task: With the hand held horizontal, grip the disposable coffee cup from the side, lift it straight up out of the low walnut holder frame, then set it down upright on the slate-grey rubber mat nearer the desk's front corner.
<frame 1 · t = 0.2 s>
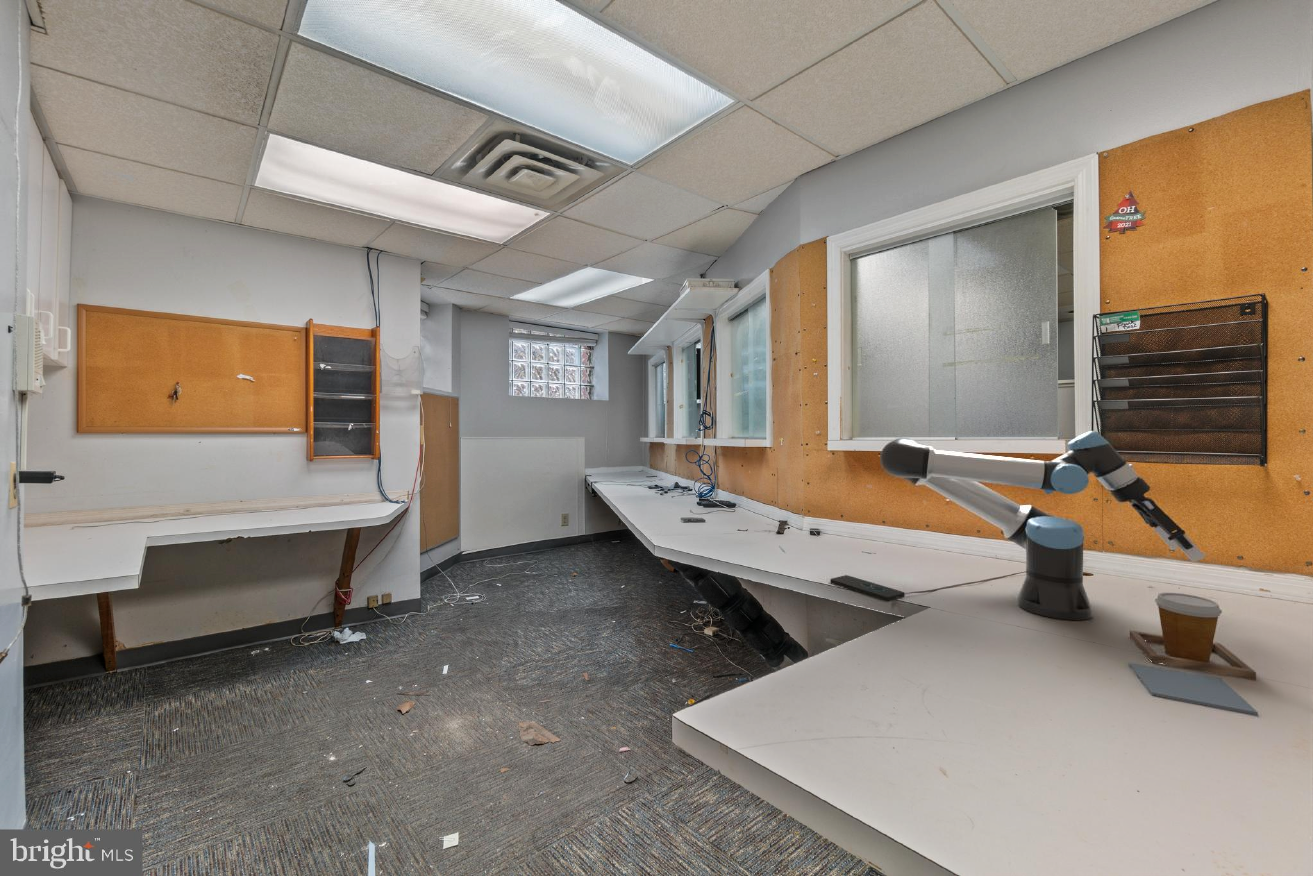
hand: (1188, 553, 127), 15 cm above the table, tool tilted 35°, fingers open, 13 cm apart
smart home device: (865, 591, 149), on the table
disposable coffee cup: (1186, 657, 104), resting in cup holder frame
rubber mat: (1186, 687, 92), on the table
cup holder frame: (1186, 656, 104), on the table
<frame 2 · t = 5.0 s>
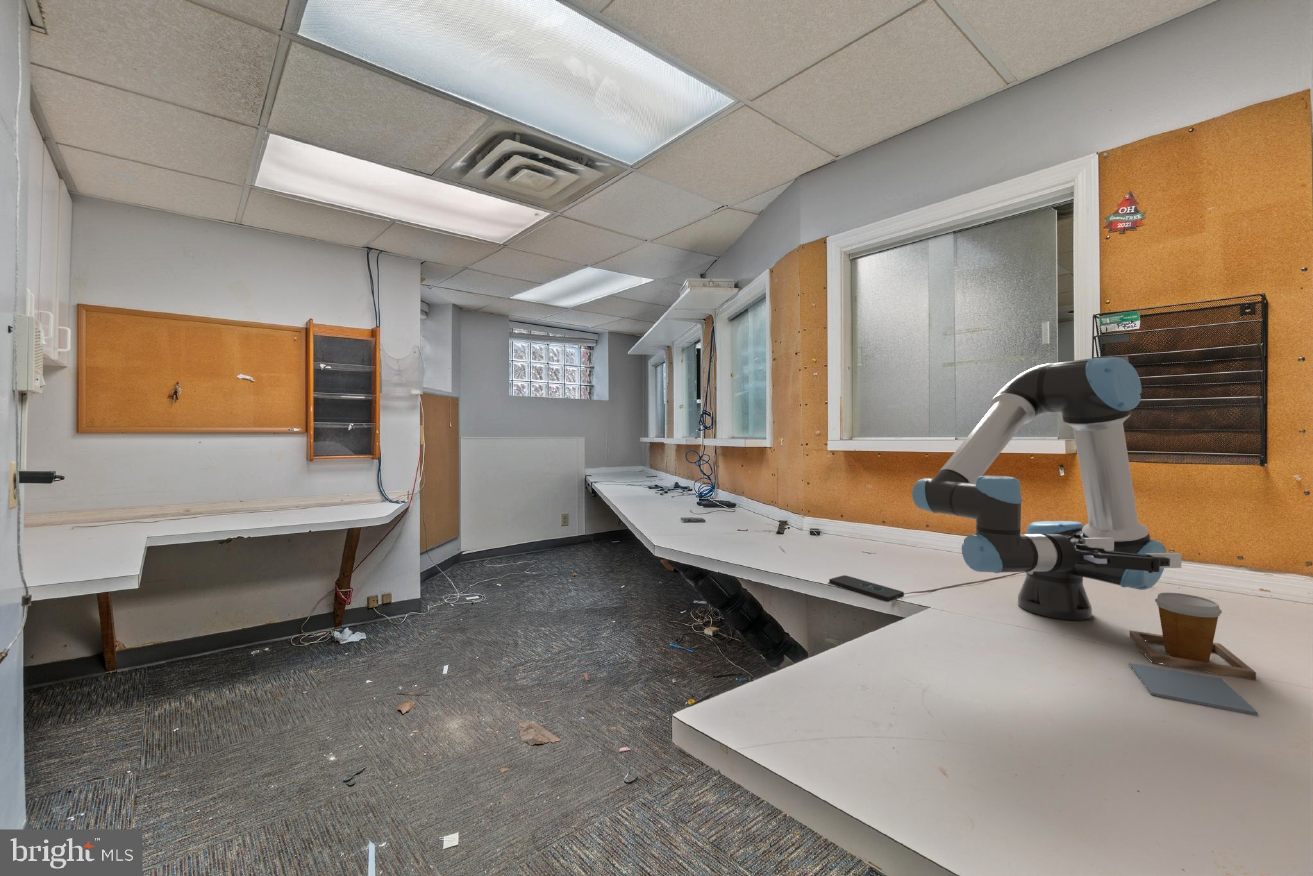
hand: (1143, 551, 103), 22 cm above the table, tool horizontal, fingers open, 13 cm apart
nothing on the table moved.
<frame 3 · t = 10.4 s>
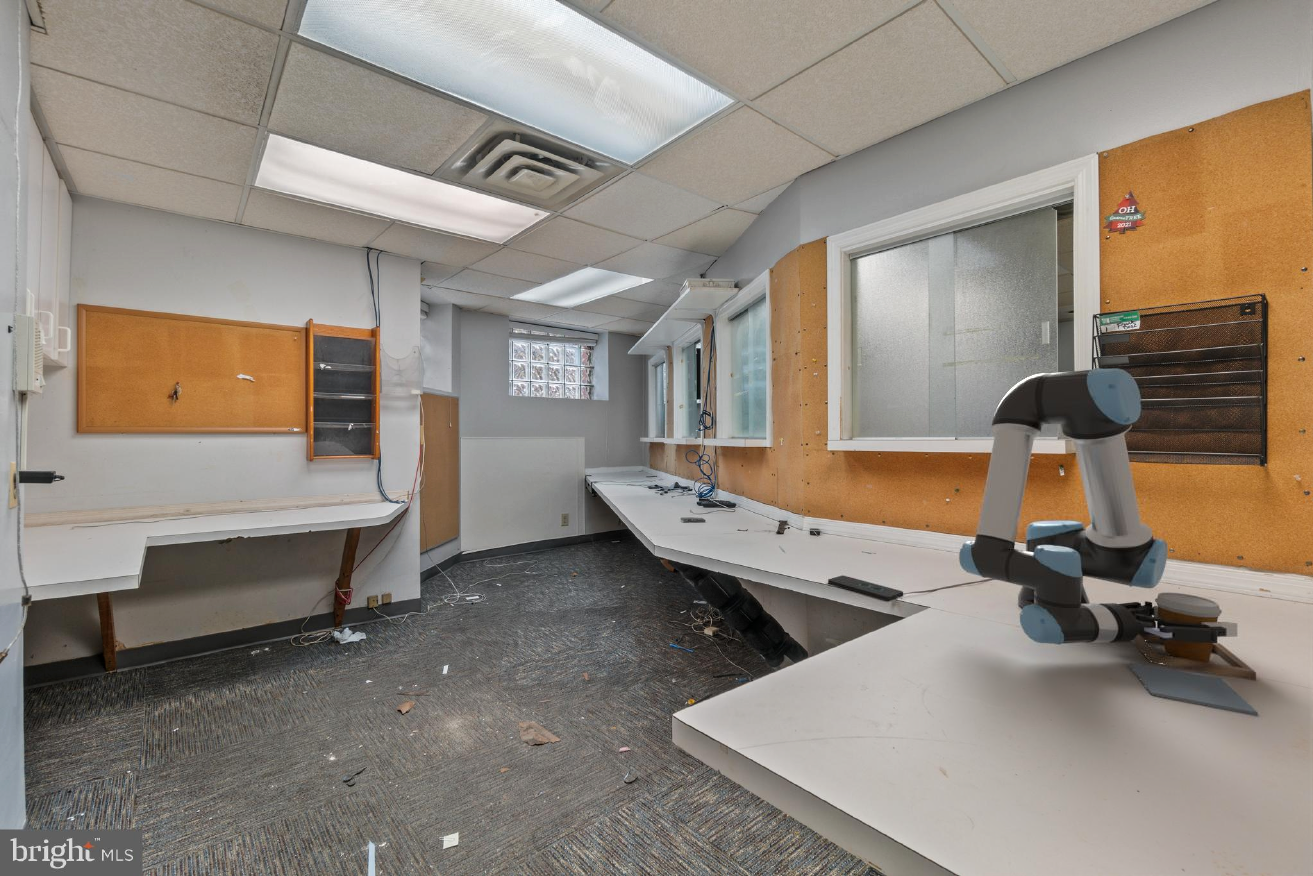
hand: (1208, 620, 104), 8 cm above the table, tool horizontal, fingers closed on disposable coffee cup, 8 cm apart
disposable coffee cup: (1186, 657, 104), resting in cup holder frame, touching gripper
everything else where it was.
when the fingers open (9 cm above the table, at t = 16.5 s): disposable coffee cup moves 1 cm, resting on rubber mat.
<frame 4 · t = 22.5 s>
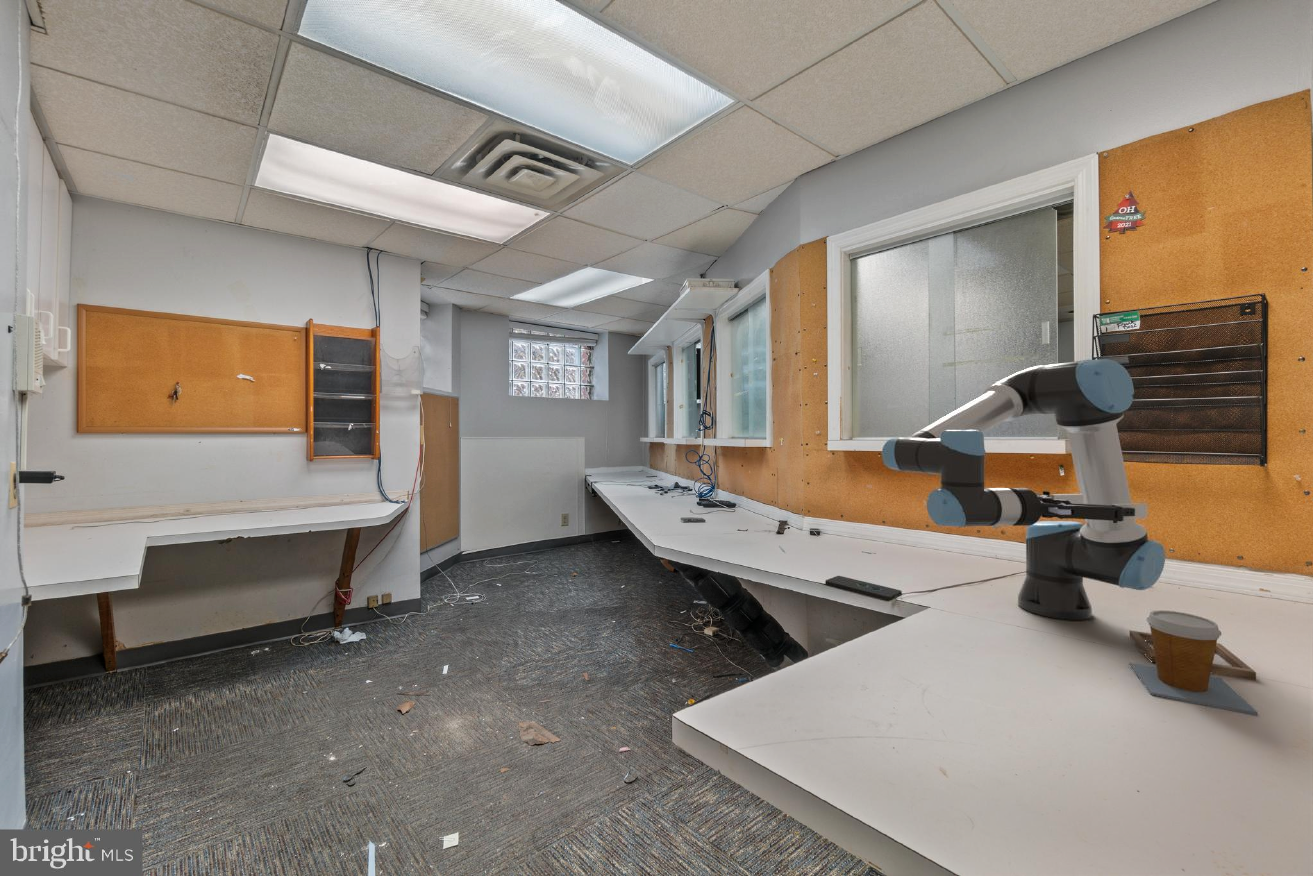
hand: (1111, 505, 102), 32 cm above the table, tool horizontal, fingers open, 13 cm apart
disposable coffee cup: (1182, 684, 92), resting on rubber mat
at the end: disposable coffee cup inside the target area on the rubber mat (0.6 cm from its centre), point 0.3 cm above the rubber mat's base; disposable coffee cup tilted 0°; the gripper is holding nothing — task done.
